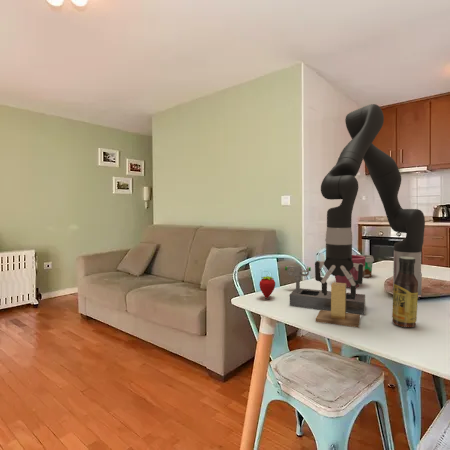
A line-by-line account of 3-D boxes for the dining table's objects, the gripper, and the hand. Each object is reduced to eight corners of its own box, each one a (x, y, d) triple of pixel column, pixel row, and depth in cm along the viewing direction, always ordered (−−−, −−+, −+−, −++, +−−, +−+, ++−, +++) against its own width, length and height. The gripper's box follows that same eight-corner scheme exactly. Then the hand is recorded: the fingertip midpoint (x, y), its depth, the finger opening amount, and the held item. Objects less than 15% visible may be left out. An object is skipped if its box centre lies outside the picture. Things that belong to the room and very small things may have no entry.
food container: (378, 278, 154) (378, 257, 154) (365, 278, 154) (365, 258, 154) (367, 273, 166) (367, 254, 166) (355, 273, 166) (355, 254, 166)
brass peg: (346, 315, 100) (346, 283, 100) (345, 319, 97) (345, 286, 96) (332, 313, 102) (332, 282, 102) (331, 317, 98) (331, 285, 98)
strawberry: (277, 296, 126) (277, 270, 125) (272, 301, 119) (272, 274, 118) (263, 294, 128) (262, 269, 128) (256, 300, 121) (256, 273, 121)
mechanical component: (310, 291, 132) (310, 267, 132) (285, 290, 134) (285, 266, 134) (310, 289, 135) (310, 266, 135) (285, 288, 137) (285, 265, 137)
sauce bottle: (387, 321, 98) (388, 255, 97) (407, 320, 98) (408, 255, 97) (401, 329, 91) (402, 259, 90) (422, 328, 92) (423, 258, 91)
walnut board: (360, 317, 101) (360, 314, 101) (358, 327, 93) (358, 324, 93) (320, 312, 106) (320, 309, 106) (315, 321, 98) (315, 318, 98)
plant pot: (349, 280, 152) (349, 253, 151) (372, 287, 138) (373, 257, 138) (323, 283, 147) (323, 255, 146) (345, 290, 133) (345, 259, 133)
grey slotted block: (365, 305, 113) (365, 294, 113) (364, 314, 104) (364, 302, 104) (296, 298, 123) (296, 287, 123) (289, 305, 114) (289, 294, 114)
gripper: (365, 241, 99) (364, 295, 100) (316, 240, 105) (316, 290, 106) (364, 244, 92) (363, 302, 93) (312, 242, 98) (312, 296, 99)
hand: (338, 296), depth 99 cm, fingers open, 7 cm apart
